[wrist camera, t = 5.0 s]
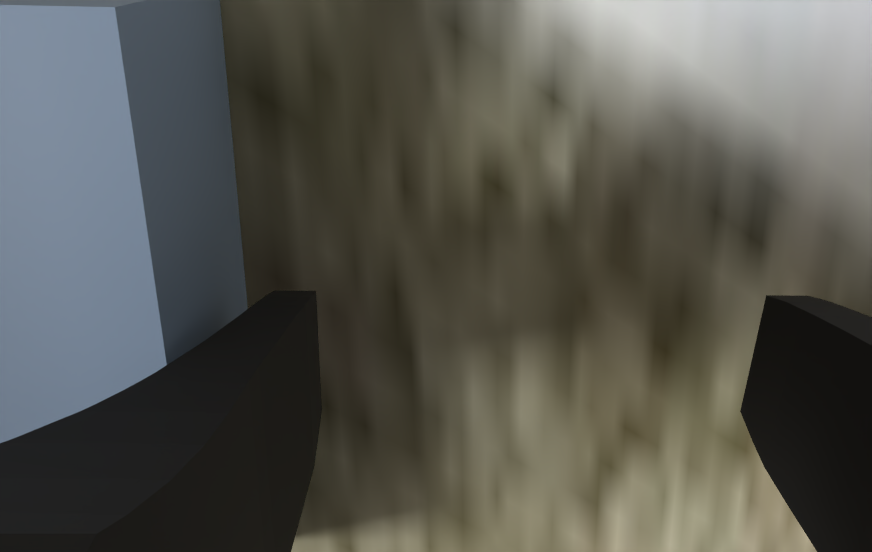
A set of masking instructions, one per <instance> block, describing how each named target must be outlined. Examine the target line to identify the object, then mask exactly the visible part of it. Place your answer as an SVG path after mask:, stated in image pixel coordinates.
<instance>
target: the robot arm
mask: <svg viewBox="0 0 872 552" xmlns="http://www.w3.org/2000/svg"><path fill="white" fill-rule="evenodd" d="M321 411H322V406H321V385H320V365H319V344H318V324H317V304H316V291H273V292H271V293H270V294H268V295H267V296H265V297H264V298H262V299H261V300H259V301H258V302H257V303H255V304H254V305H253V306H251V307H250V308H249V309H247V310H246V311H245V312H243V313H242V314H241V315H239V316H238V317H237V318H235V319H234V320H232V321H231V322H230V323H228V324H227V325H226V326H224V327H223V328H221V329H220V330H219V331H217V332H216V333H215V334H213V335H212V336H210V337H209V338H208V339H206V340H205V341H203V342H202V343H200V344H199V345H197V346H196V347H194V348H193V349H191V350H190V351H188V352H186V353H185V354H183V355H182V356H180V357H179V358H177V359H175V360H174V361H172V362H171V363H169V364H168V365H166V366H165V367H163V368H161V369H160V370H158V371H157V372H155V373H153V374H152V375H150V376H148V377H147V378H145V379H143V380H141V381H139V382H138V383H136V384H134V385H132V386H130V387H128V388H127V389H125V390H123V391H121V392H119V393H117V394H115V395H113V396H111V397H109V398H107V399H105V400H103V401H101V402H99V403H97V404H95V405H93V406H90V407H88V408H86V409H84V410H82V411H80V412H77V413H75V414H72V415H70V416H67V417H65V418H62V419H60V420H58V421H55V422H53V423H50V424H48V425H45V426H43V427H40V428H38V429H35V430H33V431H31V432H28V433H26V434H23V435H21V436H18V437H16V438H13V439H11V440H8V441H5V442H2V443H0V552H291V549H292V546H293V542H294V538H295V535H296V531H297V527H298V524H299V520H300V517H301V513H302V509H303V506H304V502H305V498H306V494H307V491H308V487H309V483H310V480H311V476H312V472H313V468H314V463H315V456H316V449H317V442H318V434H319V426H320V419H321ZM741 414H742V416H743V419H744V421H745V423H746V426H747V428H748V431H749V433H750V436H751V438H752V441H753V443H754V445H755V447H756V450H757V452H758V454H759V456H760V458H761V461H762V463H763V465H764V467H765V469H766V470H767V472H768V474H769V475H770V477H771V479H772V480H773V482H774V484H775V485H776V487H777V488H778V490H779V492H780V493H781V495H782V497H783V498H784V500H785V501H786V503H787V505H788V506H789V508H790V509H791V511H792V513H793V514H794V516H795V517H796V519H797V521H798V522H799V524H800V525H801V527H802V528H803V530H804V532H805V533H806V535H807V536H808V538H809V539H810V541H811V543H812V544H813V546H814V547H815V549H816V550H817V552H872V317H869V316H867V315H864V314H861V313H859V312H856V311H854V310H851V309H848V308H846V307H843V306H840V305H837V304H834V303H831V302H828V301H825V300H822V299H818V298H814V297H810V296H767V295H766V299H765V304H764V308H763V313H762V317H761V322H760V326H759V331H758V335H757V340H756V344H755V349H754V353H753V358H752V362H751V367H750V371H749V376H748V380H747V385H746V389H745V393H744V398H743V402H742V407H741Z"/></svg>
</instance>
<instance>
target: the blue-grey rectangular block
mask: <svg viewBox="0 0 872 552" xmlns="http://www.w3.org/2000/svg"><path fill="white" fill-rule="evenodd" d="M247 309H248V305H247V294H246V283H245V272H244V261H243V250H242V239H241V228H240V217H239V206H238V195H237V184H236V173H235V162H234V151H233V140H232V129H231V118H230V107H229V96H228V85H227V74H226V63H225V52H224V41H223V30H222V19H221V8H220V0H0V443H2V442H5V441H8V440H11V439H13V438H16V437H18V436H21V435H23V434H26V433H28V432H31V431H33V430H35V429H38V428H40V427H43V426H45V425H48V424H50V423H53V422H55V421H58V420H60V419H62V418H65V417H67V416H70V415H72V414H75V413H77V412H80V411H82V410H84V409H86V408H88V407H90V406H93V405H95V404H97V403H99V402H101V401H103V400H105V399H107V398H109V397H111V396H113V395H115V394H117V393H119V392H121V391H123V390H125V389H127V388H128V387H130V386H132V385H134V384H136V383H138V382H139V381H141V380H143V379H145V378H147V377H148V376H150V375H152V374H153V373H155V372H157V371H158V370H160V369H161V368H163V367H165V366H166V365H168V364H169V363H171V362H172V361H174V360H175V359H177V358H179V357H180V356H182V355H183V354H185V353H186V352H188V351H190V350H191V349H193V348H194V347H196V346H197V345H199V344H200V343H202V342H203V341H205V340H206V339H208V338H209V337H210V336H212V335H213V334H215V333H216V332H217V331H219V330H220V329H221V328H223V327H224V326H226V325H227V324H228V323H230V322H231V321H232V320H234V319H235V318H237V317H238V316H239V315H241V314H242V313H243V312H245V311H246V310H247Z"/></svg>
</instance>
